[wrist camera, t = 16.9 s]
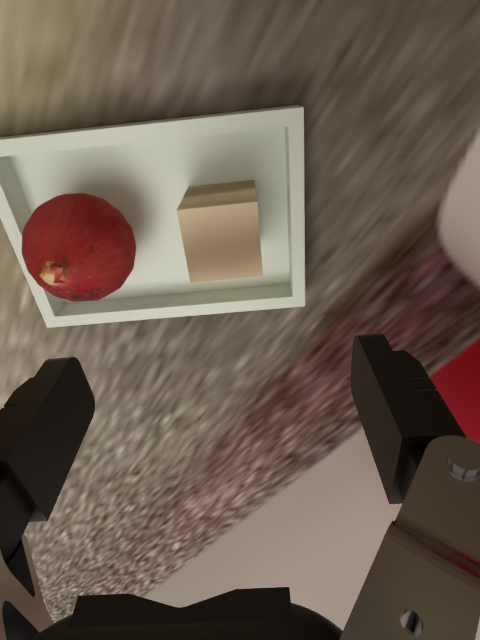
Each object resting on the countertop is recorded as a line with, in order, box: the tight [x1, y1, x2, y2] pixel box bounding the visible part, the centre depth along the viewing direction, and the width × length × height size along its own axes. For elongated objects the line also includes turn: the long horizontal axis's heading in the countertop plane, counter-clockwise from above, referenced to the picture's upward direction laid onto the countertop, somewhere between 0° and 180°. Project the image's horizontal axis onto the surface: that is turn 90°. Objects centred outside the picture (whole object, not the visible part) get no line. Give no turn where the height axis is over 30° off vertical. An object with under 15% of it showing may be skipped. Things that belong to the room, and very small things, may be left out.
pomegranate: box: [22, 193, 136, 302], centre depth 21 cm, size 6×6×8 cm
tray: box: [0, 105, 305, 328], centre depth 24 cm, size 12×18×2 cm, turn 95°
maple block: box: [177, 180, 263, 283], centre depth 22 cm, size 4×4×5 cm
